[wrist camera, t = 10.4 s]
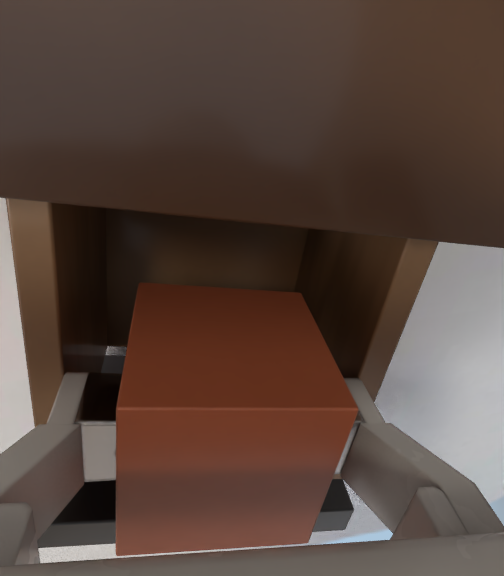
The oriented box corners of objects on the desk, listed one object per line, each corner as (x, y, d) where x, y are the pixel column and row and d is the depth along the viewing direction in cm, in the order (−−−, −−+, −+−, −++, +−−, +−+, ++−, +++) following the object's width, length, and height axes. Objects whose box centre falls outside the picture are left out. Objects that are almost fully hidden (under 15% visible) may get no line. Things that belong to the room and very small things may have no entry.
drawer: (278, 436, 23) (317, 593, 16) (80, 437, 21) (34, 618, 14) (363, 120, 15) (505, 174, 9) (61, 71, 13) (-65, 91, 6)
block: (301, 291, 12) (360, 409, 8) (272, 407, 14) (308, 543, 10) (138, 281, 11) (115, 408, 7) (134, 406, 13) (115, 557, 9)
